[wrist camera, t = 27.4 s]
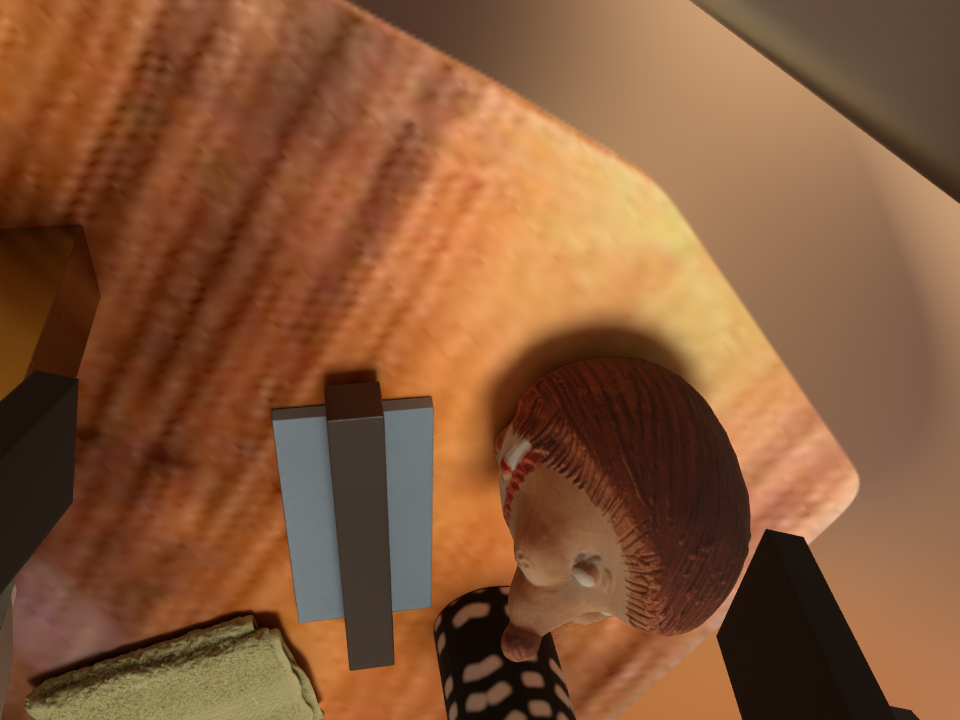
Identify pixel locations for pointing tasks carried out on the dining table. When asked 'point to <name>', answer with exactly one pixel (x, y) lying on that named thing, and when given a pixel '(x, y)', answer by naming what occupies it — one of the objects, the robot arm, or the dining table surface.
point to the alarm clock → (6, 650)
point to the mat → (314, 509)
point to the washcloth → (187, 681)
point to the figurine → (618, 503)
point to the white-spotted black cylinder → (495, 665)
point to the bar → (361, 519)
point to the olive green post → (43, 309)
